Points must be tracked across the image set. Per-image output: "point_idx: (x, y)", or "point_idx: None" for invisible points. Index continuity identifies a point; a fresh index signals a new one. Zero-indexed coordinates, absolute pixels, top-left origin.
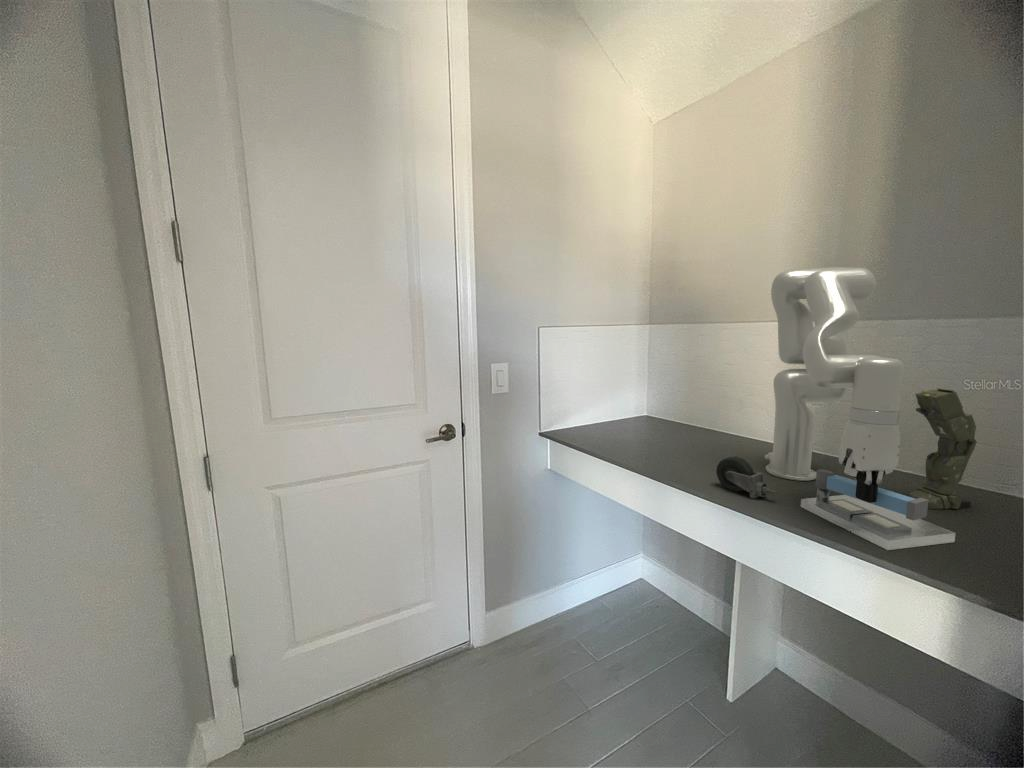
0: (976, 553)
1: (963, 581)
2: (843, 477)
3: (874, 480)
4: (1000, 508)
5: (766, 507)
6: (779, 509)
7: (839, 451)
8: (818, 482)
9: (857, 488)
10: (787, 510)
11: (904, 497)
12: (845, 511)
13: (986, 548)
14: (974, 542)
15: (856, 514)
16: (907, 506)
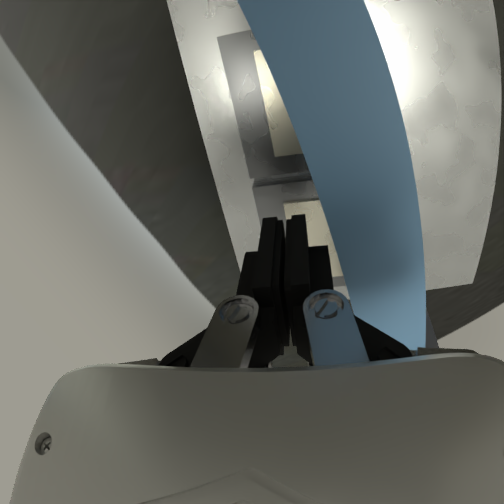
0: (444, 303)
1: (299, 363)
2: (361, 22)
3: (308, 359)
4: None
5: (54, 28)
6: (85, 34)
7: (19, 469)
8: None
9: (240, 277)
10: (107, 36)
11: (398, 336)
12: (250, 150)
13: (485, 288)
14: (497, 267)
15: (282, 173)
16: None
